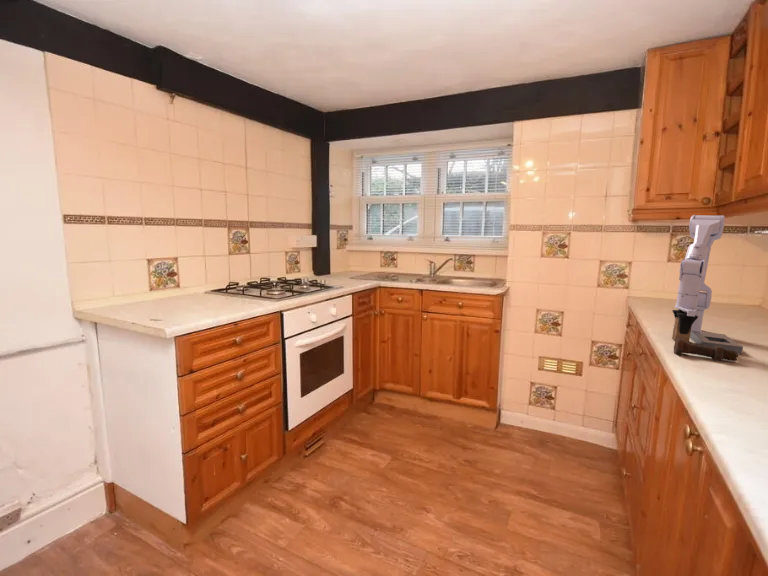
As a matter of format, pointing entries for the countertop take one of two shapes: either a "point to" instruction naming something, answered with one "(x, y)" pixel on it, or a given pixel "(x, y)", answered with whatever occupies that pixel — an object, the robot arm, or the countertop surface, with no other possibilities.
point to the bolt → (704, 351)
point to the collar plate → (715, 341)
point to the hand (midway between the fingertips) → (681, 332)
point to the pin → (677, 334)
